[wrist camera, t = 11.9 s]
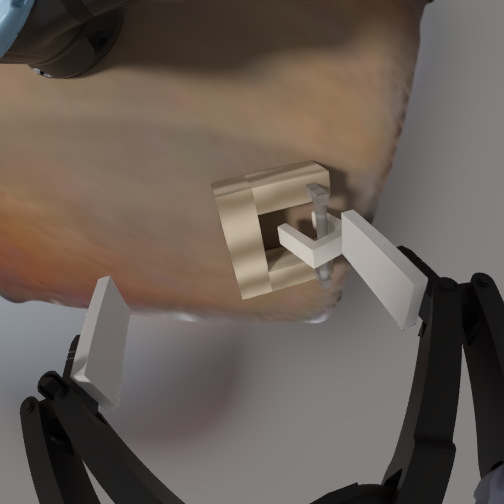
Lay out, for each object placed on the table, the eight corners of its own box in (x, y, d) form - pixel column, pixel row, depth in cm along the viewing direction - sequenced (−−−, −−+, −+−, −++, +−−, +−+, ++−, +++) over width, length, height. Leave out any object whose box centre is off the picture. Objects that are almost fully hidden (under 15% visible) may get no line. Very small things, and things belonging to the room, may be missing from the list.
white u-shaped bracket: (277, 226, 43) (312, 250, 37) (318, 208, 46) (356, 227, 39) (280, 243, 45) (314, 268, 38) (320, 224, 47) (356, 245, 41)
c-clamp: (211, 184, 42) (218, 211, 33) (312, 160, 43) (343, 181, 34) (236, 278, 52) (247, 318, 43) (320, 254, 53) (345, 288, 44)
